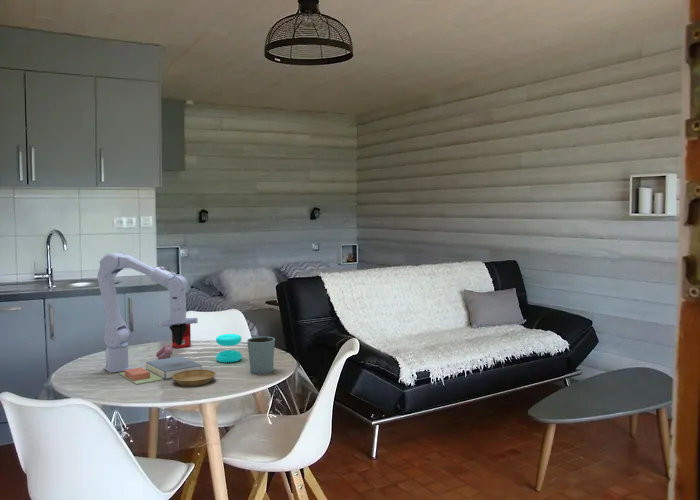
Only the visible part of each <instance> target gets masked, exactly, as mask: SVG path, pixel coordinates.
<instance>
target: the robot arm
mask: <svg viewBox="0 0 700 500" xmlns="http://www.w3.org/2000/svg"><path fill="white" fill-rule="evenodd" d="M98 269H99V270H98V272H97V276H96V277H97V282H98V287H99V291H100V297H101V300H102V304H103V305H102V306H103V310H104V313H105V314H104V315H105V320H106V324H105V327H104V329H103V331H104V337H103V340H104V343H105V345H106V346H107V348H106V350H105V366H103V369H104V370H106V371H108V372H109V373H113V374H114V373H117V372H118V373H120V372H124V370H128V369H133V367H131V366H130V365H129V343H128V342H129V341H130V339H131V335H132V333H131V330H130V329H129V327H128V326H127V323H126V321H125V320H124V319H123V317H122V313H121V307H120V303H119V298H118V295H117V289H116V284H115V277H116V276H117V275H118V274H119V272H121V271H122V270H124V269H132V270H134V271H136V272H139V273H142V274H144V275H146V276H148V277H149V278H150V280H151V281H152V282H153V283H156V284H157V285H158V284H159V285H161V286H162V287H164V288H167V290H168V291H169V319H167V320H164V321H163V320H162V321H158V323H157V324H158V325H157V326H158V328H160V329H161V328H169V330H170V332H171V334H172V333H173V336H174V338H175V342H176V345H181V344H182V339H183V336H184V333H185V331H186V329H187V325H186V324H190V325H191V324H198V317H187V307H186V306H187V305H186V304H187V303H186V302H187V301H186V299H187V298H186V288H187V286H188V280H187V278H186V277H185V276H183V275H182V274H178V275H177V273H176V272H170V271H168V270H166V268H165V267H164V266H157V267H153V266H151V265H149V264H148V263H145V262H143V261H141V260H139V259H137V258H135V257H134V256H132V255H130V254H126V253H125V252H122V251H121V252H116V253H106V254H105V255H104V256H103V257H102V258H101V259H100V260H99V268H98Z"/></svg>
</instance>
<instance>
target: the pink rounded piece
mask: <svg viewBox="0 0 700 500" xmlns="http://www.w3.org/2000/svg"><path fill="white" fill-rule="evenodd" d="M173 354H174V352H173V346H172V344H170V343H167V344H166V343H165V344H164V345H163V347H162V348H160V350H159V349H158V351H157V352H156V355H155V356H156V358H157V360H160V359H166V358H170V356H172V355H173Z"/></svg>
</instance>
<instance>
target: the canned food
mask: <svg viewBox="0 0 700 500" xmlns="http://www.w3.org/2000/svg"><path fill="white" fill-rule="evenodd" d="M186 325H187V329H186V331H185V333H184V336H183V339H182V344H181V345H176V342H175V338H174V336H173V333H172V332H171V341H172V342H171V346H172V348H175V349H184V348H189V347H191V344H192V343H191V341H192V340H191V337H192V335H191V334H192V333H191V324H186Z"/></svg>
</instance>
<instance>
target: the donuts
mask: <svg viewBox="0 0 700 500" xmlns="http://www.w3.org/2000/svg"><path fill="white" fill-rule="evenodd" d="M215 342H216V343H217V344H218V345H220V346H224V347H230V346H231V347H232V346H236V345H237V346H238V344H240V343H241V342H242V337H241V335H240V334H236V333H224V334H220V335H218V336H216V338H215ZM215 357H216V360H217V361H218V362H219V363H226V364H227V362H228V363H229V362H230V363H236V362H238V361H241V359H242V358H243V357H242V353H241V352H240V351H238V350H234V349H226V350H222V351H220V352H218V353H217V354H216V356H215Z"/></svg>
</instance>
